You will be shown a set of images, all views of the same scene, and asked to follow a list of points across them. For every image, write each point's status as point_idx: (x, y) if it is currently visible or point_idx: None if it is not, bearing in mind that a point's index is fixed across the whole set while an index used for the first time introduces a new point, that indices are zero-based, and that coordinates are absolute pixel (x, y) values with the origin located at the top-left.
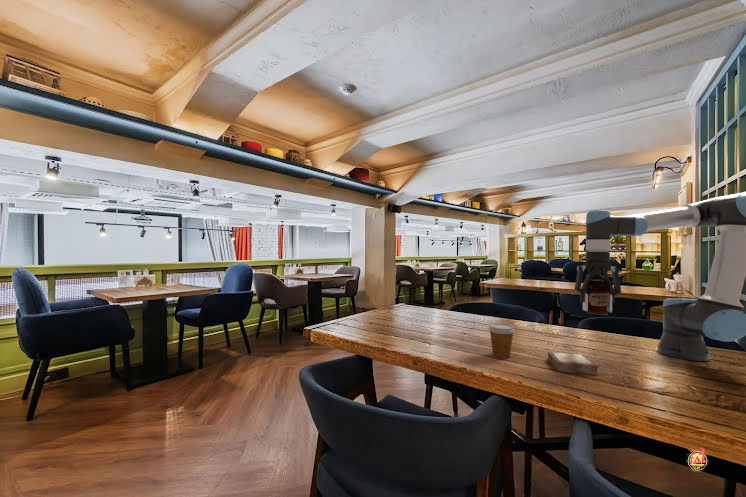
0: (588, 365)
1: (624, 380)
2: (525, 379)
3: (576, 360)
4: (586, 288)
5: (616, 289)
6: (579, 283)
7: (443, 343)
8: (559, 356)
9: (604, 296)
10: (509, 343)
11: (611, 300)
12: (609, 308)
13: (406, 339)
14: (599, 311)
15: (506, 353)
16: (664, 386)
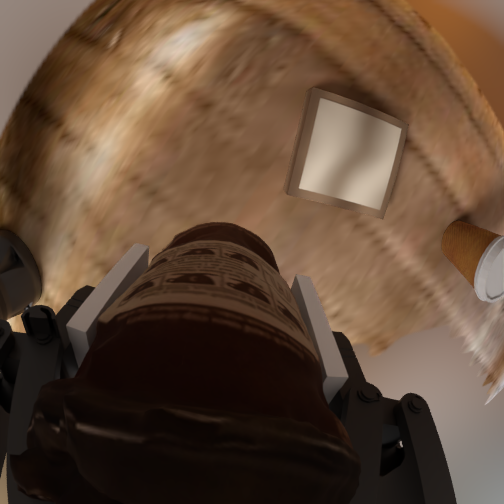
0: (336, 94)
1: (254, 54)
2: (470, 97)
3: (353, 129)
4: (354, 433)
5: (9, 382)
6: (435, 468)
7: (489, 308)
8: (381, 169)
9: (176, 282)
10: (476, 232)
11: (98, 292)
12: (139, 261)
13: None
14: (236, 231)
15: (464, 223)
16: (175, 30)
